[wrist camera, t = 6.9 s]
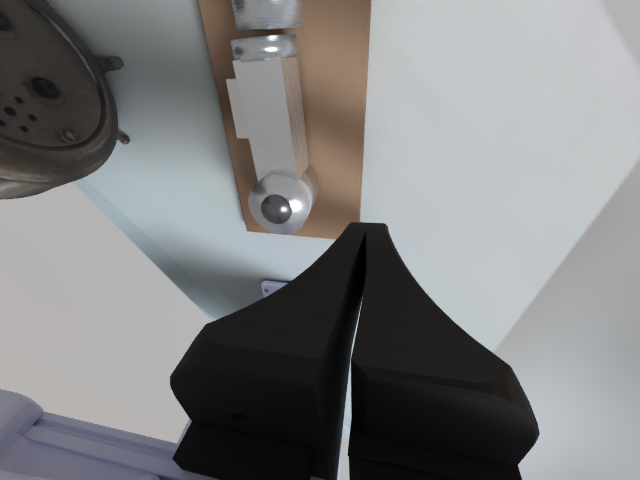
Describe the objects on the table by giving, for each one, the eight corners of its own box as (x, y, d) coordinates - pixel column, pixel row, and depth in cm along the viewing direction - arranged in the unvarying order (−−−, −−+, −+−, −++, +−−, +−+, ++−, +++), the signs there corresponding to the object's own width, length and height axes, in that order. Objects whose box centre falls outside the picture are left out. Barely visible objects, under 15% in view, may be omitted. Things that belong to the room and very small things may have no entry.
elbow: (322, 207, 20) (308, 238, 17) (274, 206, 21) (253, 235, 18) (307, 34, 15) (283, 32, 12) (243, 41, 16) (204, 41, 12)
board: (358, 234, 22) (357, 241, 21) (251, 224, 24) (246, 231, 23) (375, -85, 13) (374, -94, 12) (195, -62, 14) (182, -69, 14)
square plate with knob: (338, 130, 17) (321, 157, 13) (246, 128, 18) (205, 153, 14) (338, -89, 12) (312, -153, 8) (212, -73, 13) (133, -122, 9)
